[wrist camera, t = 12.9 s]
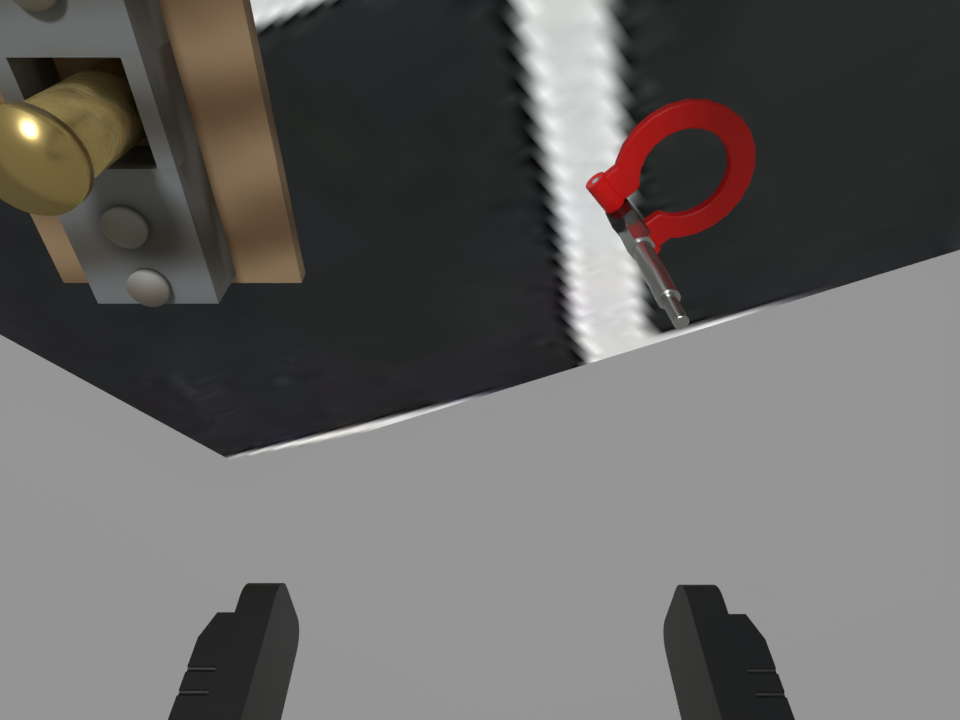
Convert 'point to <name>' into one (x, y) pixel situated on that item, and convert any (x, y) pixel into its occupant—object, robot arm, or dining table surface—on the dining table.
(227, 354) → the dining table surface
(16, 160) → the pin
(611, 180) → the tow hook
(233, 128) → the board
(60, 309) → the dining table surface
